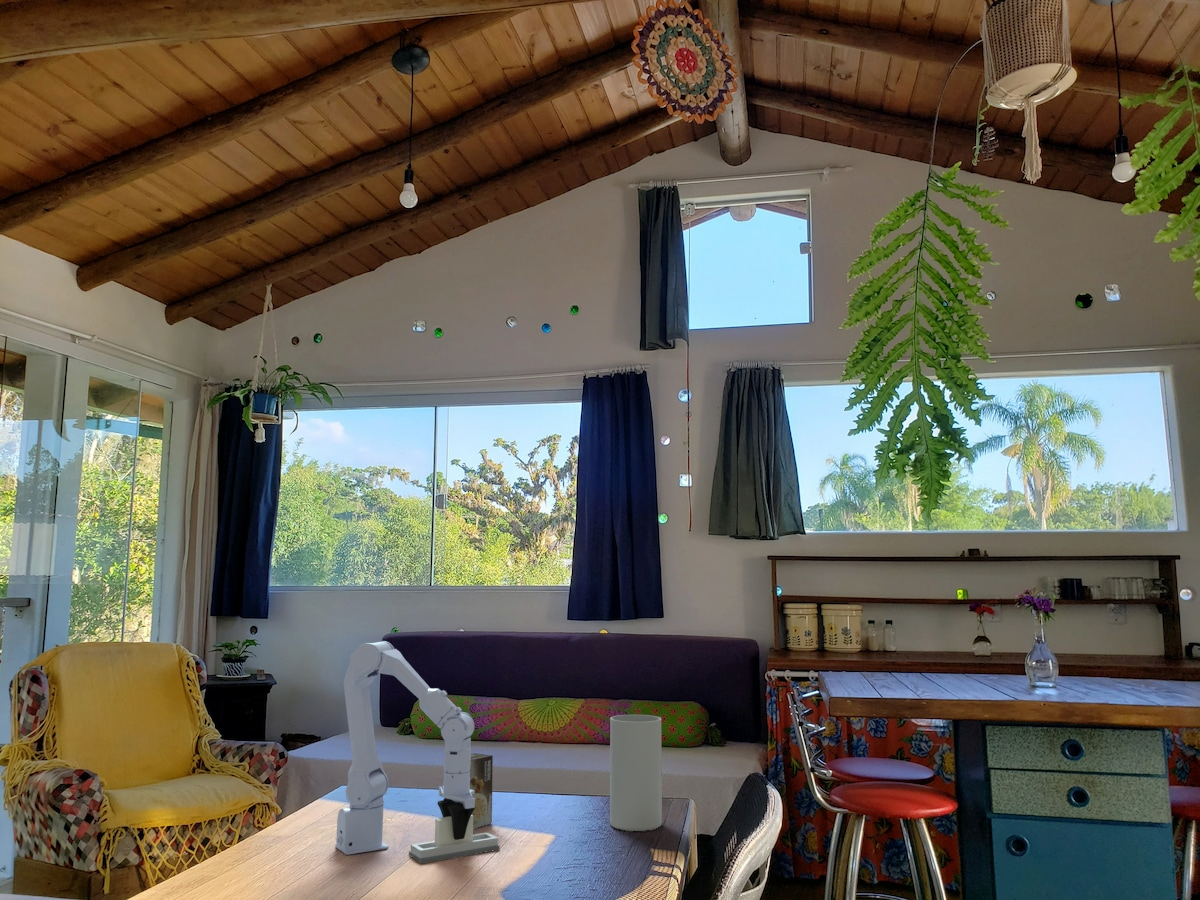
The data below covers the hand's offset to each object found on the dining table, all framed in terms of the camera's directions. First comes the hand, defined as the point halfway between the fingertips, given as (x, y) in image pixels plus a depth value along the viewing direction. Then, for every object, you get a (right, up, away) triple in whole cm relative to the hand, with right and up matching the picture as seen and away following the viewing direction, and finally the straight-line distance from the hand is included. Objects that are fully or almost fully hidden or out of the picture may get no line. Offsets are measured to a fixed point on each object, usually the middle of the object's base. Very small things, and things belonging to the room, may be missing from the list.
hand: (455, 836), depth 193 cm
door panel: (0, -2, -1) cm, 2 cm away
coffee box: (0, -7, +21) cm, 22 cm away
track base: (0, -3, 0) cm, 3 cm away
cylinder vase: (+40, -7, +22) cm, 46 cm away
